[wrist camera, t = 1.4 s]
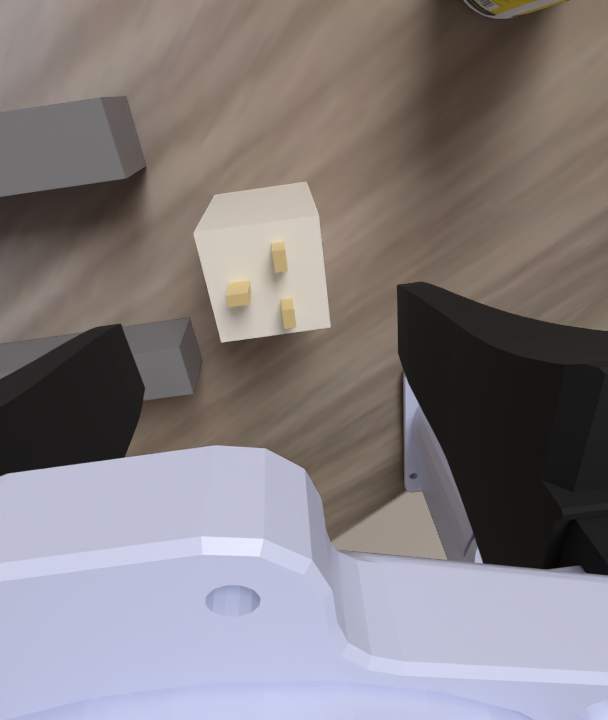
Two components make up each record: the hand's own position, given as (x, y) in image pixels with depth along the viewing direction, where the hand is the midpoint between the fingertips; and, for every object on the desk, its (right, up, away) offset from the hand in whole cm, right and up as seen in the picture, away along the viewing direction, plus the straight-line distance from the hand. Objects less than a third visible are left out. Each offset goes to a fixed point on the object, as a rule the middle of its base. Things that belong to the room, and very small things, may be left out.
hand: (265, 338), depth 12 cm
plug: (-1, +5, +9) cm, 10 cm away
